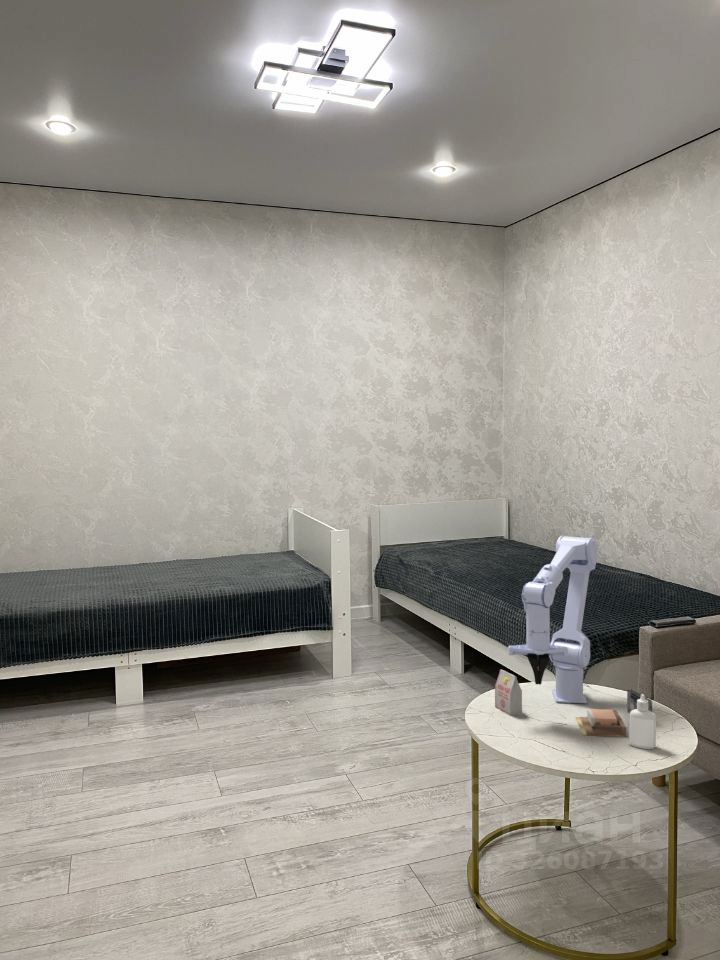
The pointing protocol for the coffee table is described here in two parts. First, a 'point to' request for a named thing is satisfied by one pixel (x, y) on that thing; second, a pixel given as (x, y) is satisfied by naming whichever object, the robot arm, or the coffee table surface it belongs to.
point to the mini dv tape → (635, 701)
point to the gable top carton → (508, 694)
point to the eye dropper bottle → (642, 726)
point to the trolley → (601, 717)
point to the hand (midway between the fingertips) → (538, 683)
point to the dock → (602, 727)
